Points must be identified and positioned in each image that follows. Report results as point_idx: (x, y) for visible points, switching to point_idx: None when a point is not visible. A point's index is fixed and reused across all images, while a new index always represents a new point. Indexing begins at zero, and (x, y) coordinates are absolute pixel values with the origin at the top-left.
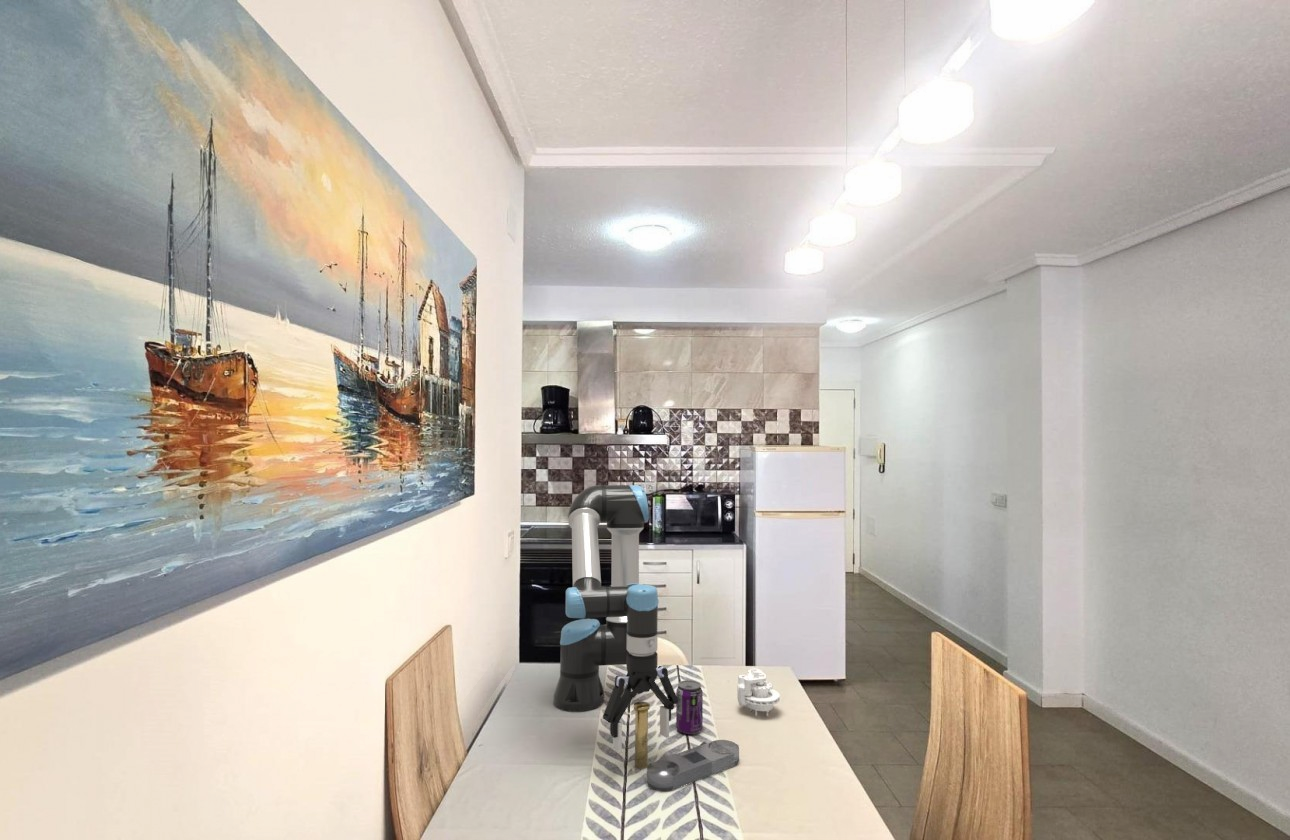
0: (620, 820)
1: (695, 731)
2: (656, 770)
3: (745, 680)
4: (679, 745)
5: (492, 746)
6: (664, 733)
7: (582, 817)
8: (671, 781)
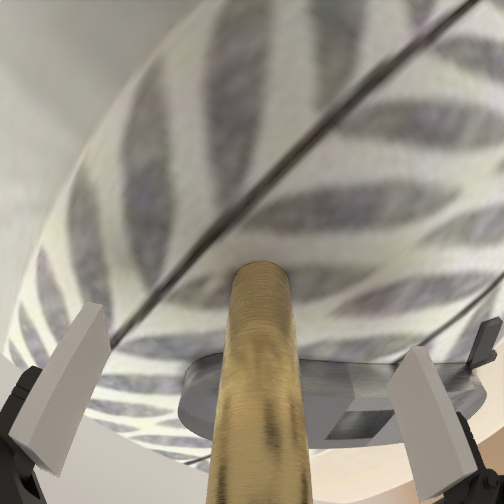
0: None
1: None
2: (207, 416)
3: None
4: (473, 276)
5: None
6: (398, 384)
7: (3, 335)
8: None
